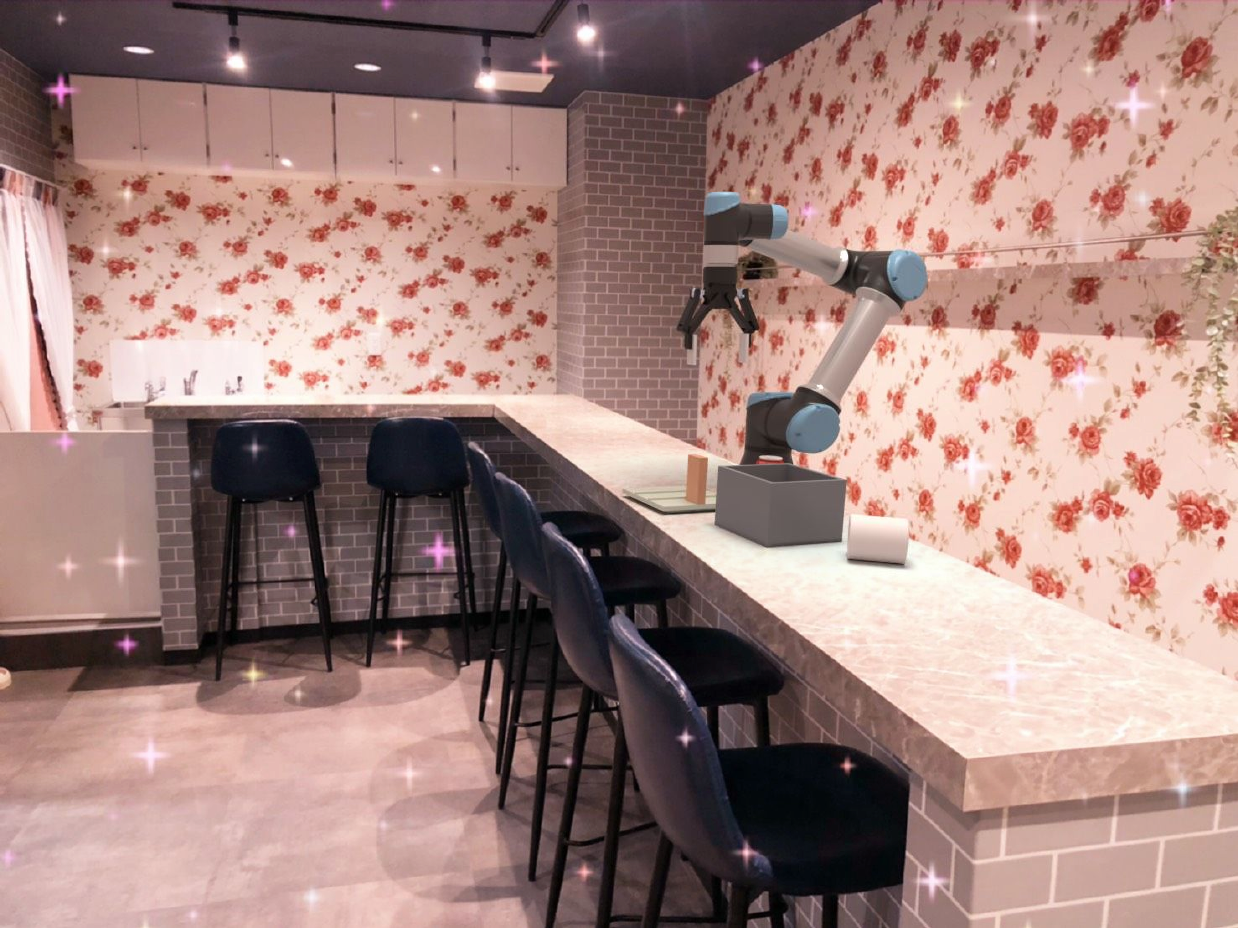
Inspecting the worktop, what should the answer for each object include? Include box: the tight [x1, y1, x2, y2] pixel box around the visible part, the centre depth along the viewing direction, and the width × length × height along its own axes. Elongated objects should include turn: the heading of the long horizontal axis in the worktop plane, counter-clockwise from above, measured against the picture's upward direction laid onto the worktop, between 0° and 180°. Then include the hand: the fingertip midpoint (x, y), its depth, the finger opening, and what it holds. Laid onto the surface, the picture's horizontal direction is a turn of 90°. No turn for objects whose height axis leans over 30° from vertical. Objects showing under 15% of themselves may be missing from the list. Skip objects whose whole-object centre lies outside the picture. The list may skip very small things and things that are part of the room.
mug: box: [846, 513, 910, 565], centre depth 178 cm, size 12×10×8 cm
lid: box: [621, 453, 716, 514], centre depth 217 cm, size 18×20×12 cm
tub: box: [714, 463, 848, 548], centre depth 193 cm, size 17×19×12 cm
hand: (717, 363), depth 218 cm, fingers open, 13 cm apart
